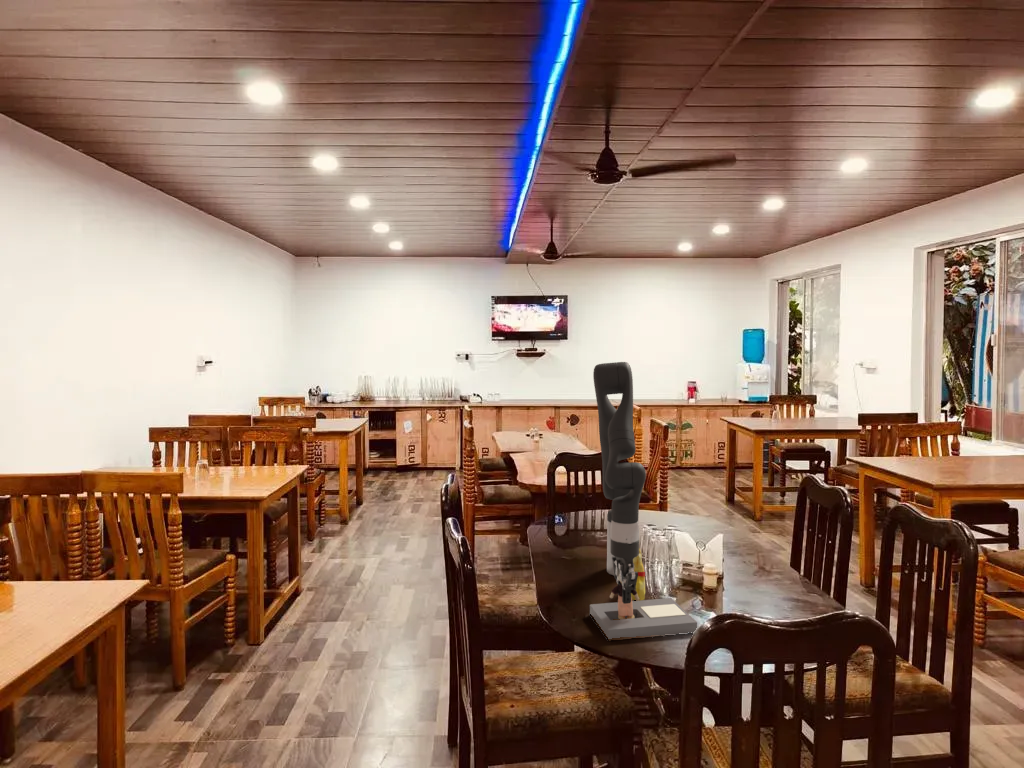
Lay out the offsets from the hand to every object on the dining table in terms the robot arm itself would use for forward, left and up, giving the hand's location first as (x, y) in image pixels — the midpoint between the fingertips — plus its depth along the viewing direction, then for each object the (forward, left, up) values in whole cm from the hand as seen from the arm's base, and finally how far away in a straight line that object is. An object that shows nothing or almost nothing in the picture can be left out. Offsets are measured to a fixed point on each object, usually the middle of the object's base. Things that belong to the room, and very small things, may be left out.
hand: (624, 600), depth 171 cm
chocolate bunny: (-19, +10, -7) cm, 22 cm away
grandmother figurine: (0, 0, -5) cm, 5 cm away
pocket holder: (0, +5, -7) cm, 8 cm away
